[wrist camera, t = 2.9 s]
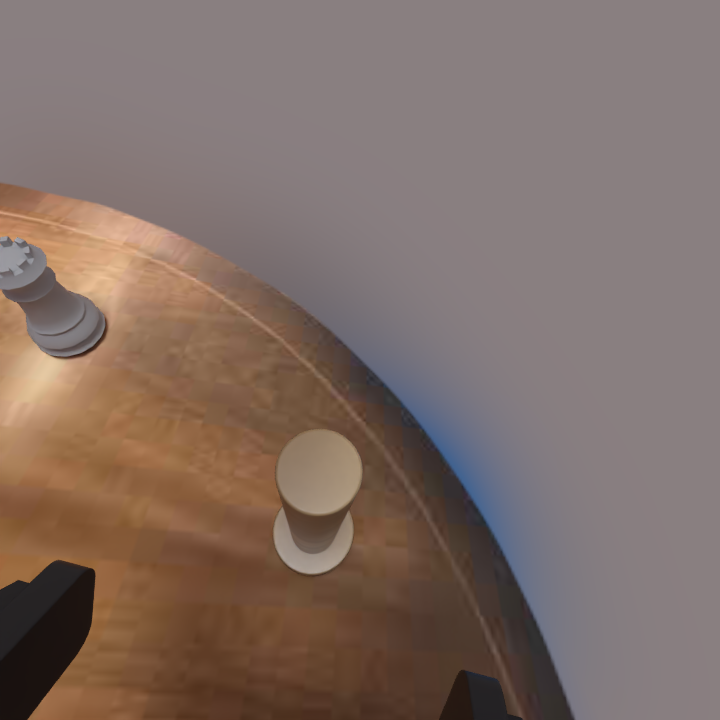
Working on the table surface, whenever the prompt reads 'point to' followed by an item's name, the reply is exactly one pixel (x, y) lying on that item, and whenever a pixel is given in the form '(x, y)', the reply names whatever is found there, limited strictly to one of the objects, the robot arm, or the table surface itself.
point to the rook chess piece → (47, 301)
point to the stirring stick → (316, 501)
